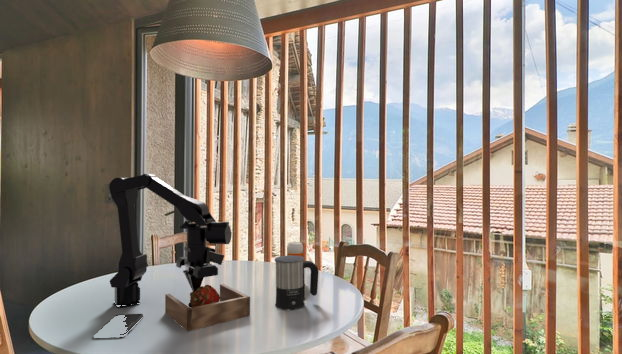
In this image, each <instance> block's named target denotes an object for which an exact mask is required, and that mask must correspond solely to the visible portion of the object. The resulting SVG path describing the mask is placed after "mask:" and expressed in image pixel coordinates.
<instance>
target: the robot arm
mask: <svg viewBox="0 0 622 354" xmlns="http://www.w3.org/2000/svg"><path fill="white" fill-rule="evenodd" d="M108 189H109V194H110V197H111V198H110V199H111V200H112V202H113V203H114V204H115V206H116V208H117V215H118V217H117V218H118V226H119V237H120V244H121V245H120V246H121V247H120V248H121V254H120V256H119V260H118V262H117V273H115V274H114V276H113V277H111V279H110V280H109V283H110V287H111V288H114V301H115V303H116V305H121V306H122V305H131V304H136V305H138V304H137V303H140V304H141V302H140V300H141V286H139V282H141V281H142V279H143V276H144V275H145V274H146V273H147V268H148V267H149V264H148V255H147V253H144V254H143V253H142V252H141V250H140V247H139V238H138V229H137V220H136V209H135V205H136V201H137V198H138V196H139V195H138V194H139V191H140V190H144V189H147V190H149V191H151V192H152V193H153V194H156V196H158V197H160V198H161V199H163V200H164V201H166V202H168V204H171V205H172V206H174V207H175V208H176V209H177V212H179V214H180V215H181V216H182V217H183V218H184V219H185V221H184V223H182V224H181V225H180V226H179V229H181V230H183V229H185V230H186V246H184V247H183V248H184V251H186V256H179V257H178V258H177V259H176V261H175V264H176V265H175V267H176V268H179V269H180V268H182V266H184V267H185V270H182V273H183V274H184V276H185V278H186V280H187V282H188V284H189V286H190V289H191V290H192V291H191V292H193V291H196V290H197V288H199V287H201V286H202V283H203V280H204V278H209V277H216V276H218V275H219V267H218V266H216V265H215V264H218V265H219V266H221V265H222V263H223V262H224V258H225V255H224V254H222V253H219V252H216V249H215V248H212V247H209V246H207V242H208V243H209V244H211V245H212V244H214V245H230V243H231V240H232V235H233V234H232V233H233V232H232V230H231V229H232V228H231V227H230V222H229V221H216V220H215V218H214V217H213V216H212V214H211V212H210V210H209V206H208V205H207V204H206V203H205V202H203V201H201V200H199V199H196V198H192V197H190V196H187V195H185V194H183V193H182V192H180V191H179V190H177V189H176V188H174V187H172V186H171V185H169V184H167V183H166V182H165V181H163V180H162V179H160V178H158V177H157V176H156V174H153V173H143V174H140V175H137V176H132V177H114V178H113V179H112V180H111V181H110V182H109V184H108ZM212 263H214V264H212ZM131 306H132V305H131Z"/></svg>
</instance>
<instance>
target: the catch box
mask: <svg viewBox="0 0 622 354" xmlns="http://www.w3.org/2000/svg"><path fill="white" fill-rule="evenodd" d="M164 295H165V298H164V300H165V301H164V302H165V303H164V305H165V306H164V310H165V312H164V314H166V315H167V314H168V315H169V316H170V317H171V318H170V317H169V316H168V315H167V316H168V317H169V318H170V319H171V320H173V321H174V320H175V321H176V322H177V323H176V322H175V321H174V322H175V323H176V324H178V325H179V326H180V327H181V326H182V327H183V330H185V331H186V332H191V331H195V330H199V329H203V328H206V327H210V326H211V327H212V326H214V325H219V324H224V323H226V322H231V321H235V320H238V319H243V318H247V317H251V296H249V295H248V294H245V293H243V292H241V291H239V290H237V289H235V288H233V287H230V286H229V285H227V284H224V283H221V284H219V296H220V300H219V302H216V303H211V304H207V305H202V306H197V307H193V308H190V307H189V306H188V304H187V305H186V304H185V303H183V301H181V300H179V299H178V298H177V297H175V296H174V295H172V294H170V293H165V294H164ZM182 327H181V328H182Z"/></svg>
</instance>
